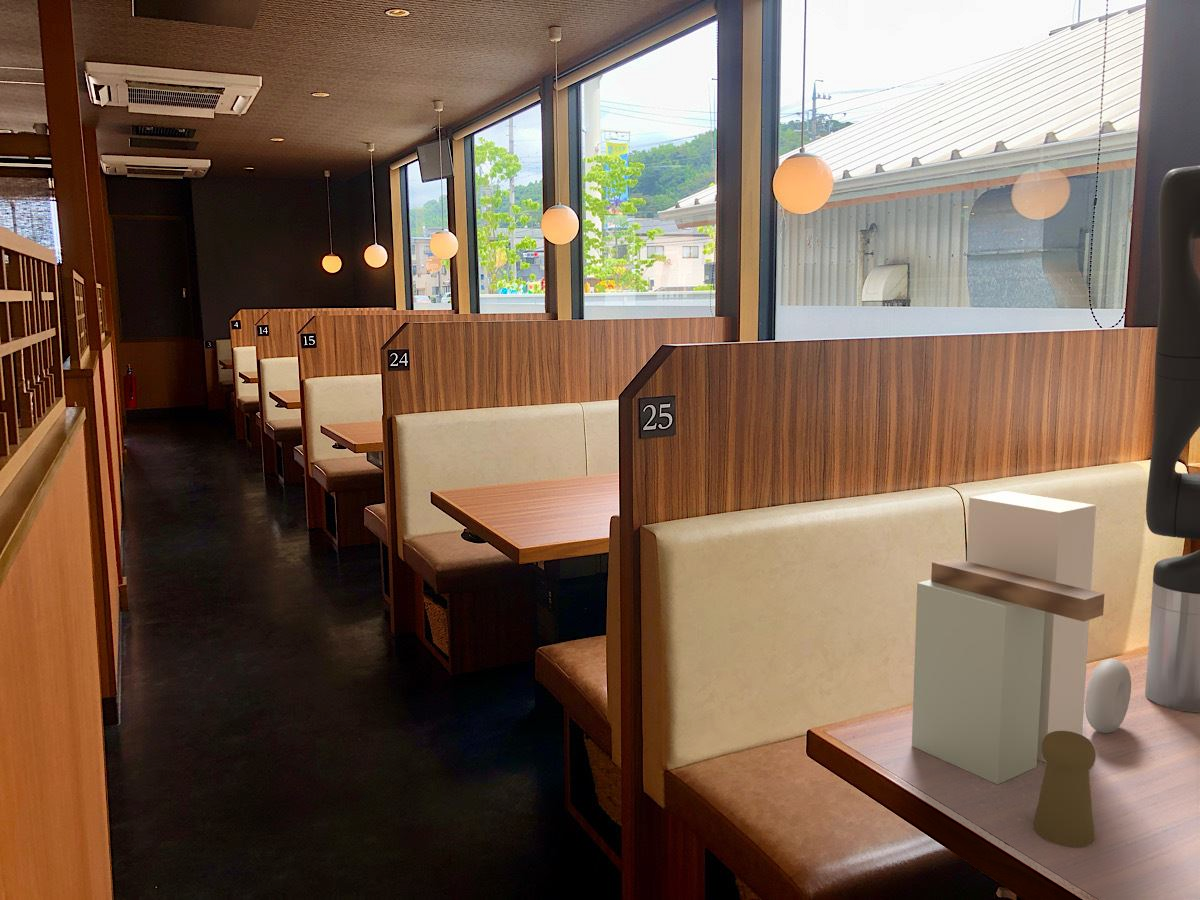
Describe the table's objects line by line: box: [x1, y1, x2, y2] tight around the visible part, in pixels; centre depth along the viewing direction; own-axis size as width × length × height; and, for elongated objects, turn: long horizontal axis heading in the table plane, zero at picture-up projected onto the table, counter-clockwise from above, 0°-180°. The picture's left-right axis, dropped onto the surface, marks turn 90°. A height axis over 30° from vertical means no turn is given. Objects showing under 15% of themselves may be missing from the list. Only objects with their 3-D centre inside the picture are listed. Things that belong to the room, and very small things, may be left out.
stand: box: [911, 490, 1097, 785], centre depth 119 cm, size 12×18×32 cm
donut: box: [1084, 658, 1132, 734], centre depth 125 cm, size 10×4×10 cm, turn 134°
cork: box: [1032, 731, 1097, 848], centre depth 100 cm, size 6×6×11 cm
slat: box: [930, 557, 1105, 622], centre depth 112 cm, size 20×4×2 cm, turn 33°
